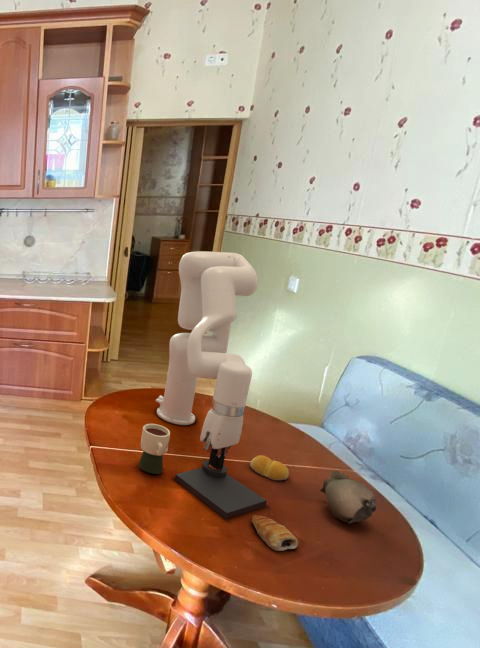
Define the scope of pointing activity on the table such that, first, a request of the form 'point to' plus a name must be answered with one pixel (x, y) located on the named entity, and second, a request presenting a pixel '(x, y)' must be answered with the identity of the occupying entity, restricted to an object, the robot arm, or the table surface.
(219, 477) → the scale
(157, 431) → the character mug
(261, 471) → the bread roll
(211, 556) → the table surface
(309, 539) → the table surface
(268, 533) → the pastry
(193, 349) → the robot arm
